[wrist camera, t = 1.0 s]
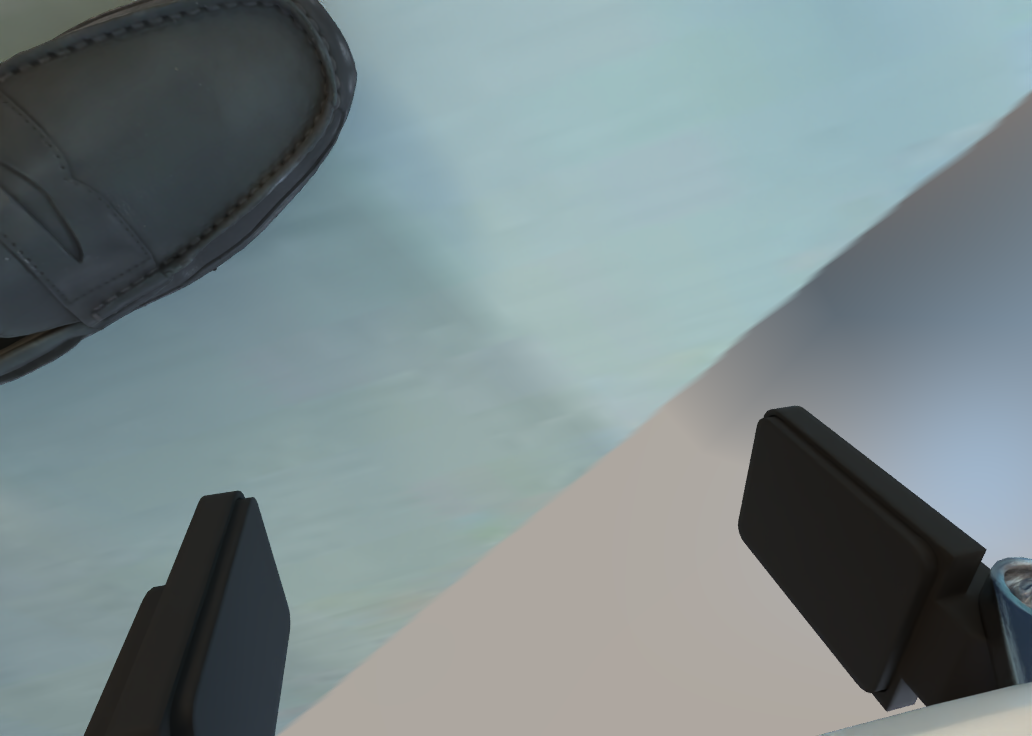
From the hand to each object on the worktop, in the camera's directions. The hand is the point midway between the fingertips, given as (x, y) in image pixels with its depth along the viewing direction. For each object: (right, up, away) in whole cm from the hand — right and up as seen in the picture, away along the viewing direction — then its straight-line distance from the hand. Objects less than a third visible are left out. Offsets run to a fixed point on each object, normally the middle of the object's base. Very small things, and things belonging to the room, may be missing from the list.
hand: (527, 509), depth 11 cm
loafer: (-20, +10, +17) cm, 28 cm away
